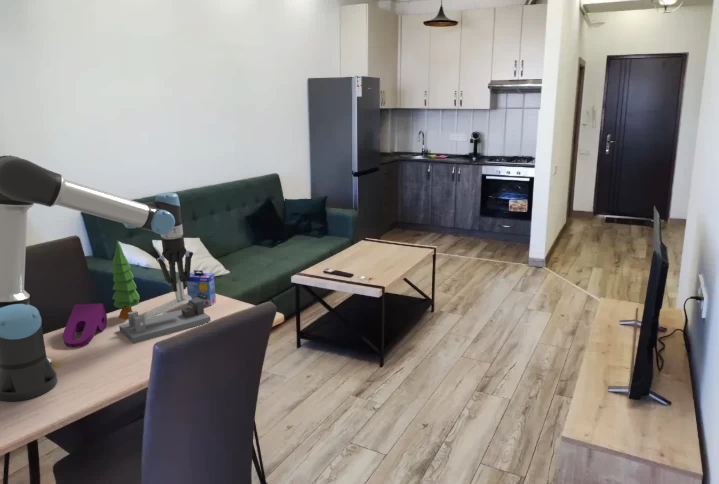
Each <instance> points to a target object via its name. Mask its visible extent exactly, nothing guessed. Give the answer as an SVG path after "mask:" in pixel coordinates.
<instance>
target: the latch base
mask: <svg viewBox="0 0 719 484" xmlns="http://www.w3.org/2000/svg"><path fill="white" fill-rule="evenodd" d="M189 302H191V303H192V305H191V307H190V306H188V307H187V306H186V307H182V308H181V309H179V310H174V311H170V312H166V313H161V314H158V315H156V316H154V317H152V318H150V319H148V320H145V317H144V316H141V317H137V318H134V321H133V320H132V318H133V317H134V316H139V311H138V310H135V311H133V310H132V311H133V312H129V313H128V319H127V320H128V322H127V323H124V324H123V323H122V324H120V325H119V326H118V328H119V332H121V333H122V334H123V335H124V336H125V337H126V338H127V339H128V340H129V341H130V342H131V343H132V344H136V343H140V342H143V341H147V340H150V339H154V338H157V337H161V336H165V335H169V334H172V333H176V332H179V331H182V330H187V329H189V328H193V327H197V326H200V325H205V324H208V323H210V322H209V321H212V320H211V316H210V315H208V313H207V314H206V313H205V309H204V308H205V307H204V306H203V301H202V300H201V299H199V298H193V299H191V300H189ZM207 322H208V323H207ZM204 323H205V324H204Z"/></svg>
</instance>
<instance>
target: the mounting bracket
mask: <svg viewBox="0 0 719 484" xmlns="http://www.w3.org/2000/svg"><path fill="white" fill-rule="evenodd" d="M107 323H108V316H107V311H106V309H105V307H104V304H103V303H81V304H80V303H79V304H78V303H77V304H74V305H73V307H72V310H71V312H70V315H69V318H68V321H67V322H66V325H65V328H64V329H63V332H62V334H61V335H62V336H61V337H62V341H63V343H64V345H65V346H66V347H68V348H82V347H84V346H86V345H88V344H89V343H90V342H91V341H93V339H94V337H95V334H96V332H104V330H106V329H107ZM76 333H81V336H80V337H79V338H78V339H75V336H76Z"/></svg>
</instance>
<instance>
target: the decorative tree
mask: <svg viewBox="0 0 719 484" xmlns="http://www.w3.org/2000/svg"><path fill="white" fill-rule="evenodd" d="M115 246H116V248H115V251H114V256H113V259H112V261H111V263H112V269H111V274H113V278H112V282H114V283H113V285H112V289H111V290H112V291H114V293H113V294H112V298H111V299H112V300H114V302H113V307H115V308H117V309H121V310H120V312H119V315H118V319H121V320H124V321H125V320H129V319H128V313H129V312H133V308H132V307H134V306H138V305H139V304H140V294H139V293H138V291H137V290H136V289H138V287H137V284H136V283H135V281H134V278H135V277H134V276H135V275H134V274H133V272H132V271H131V265H130V264H129V262H128V259H127V257H126V256H125V254H124V251H123V249H122V246H121V244H120V242H119V240H118V239H116V245H115Z"/></svg>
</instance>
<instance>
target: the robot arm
mask: <svg viewBox="0 0 719 484" xmlns="http://www.w3.org/2000/svg"><path fill="white" fill-rule="evenodd" d="M180 203H181V202H180V198H179V195H178V194H177V193H175V192H161V193H158V194H156V196H155V200H154V201H150V202H149V201H148V202H144V203H142V202H140V201H135V200H132V199H128V198H125V197H122V196H119V195H116V194H113V193H109V192H106V191H104V190H103V191H102V190H100V189H97V188H94V187H90V186H87V185H83V184H81V183H77V182H74V181H72V180H69V179H65V178H64V176H63V174H61V173H57V172H54V171H52V170H49V169H47V168H45V167H43V166H41V165H38V164H37V163H34V162H33V161H30V160H28V159H25V158H21V157H18V156H14V155H0V401H3V402H4V401H5V402H19V401H20V402H21V401H24V400H30V399H33V398H36V397H39V396H41V395H44V394H46V393H47V392H49V391H51V390H52V389H54V388H55V387H56V385H57V384H58V375H57V372H56V370H55V368H54V367H53V366H52V363H51V362H50V360H49V359H48V357H47V350H46V345H45V338H44V332H43V326H42V325H43V324H42V322H43V321H42V317H41V314H40V311H39V310H38V308H37V307H35V306H33V305H31V304H30V298H31V297H30V295H31V294H29V293H28V291H26V290H25V276H26V275H25V274H26V253H27V251H26V250H27V249H26V248H27V226H28V225H27V224H28V223H27V222H28V210H29V209H30V208H32V207H33V206H34V204H37V205H41V206H45V207H49V208H51V207H54V206H59V207H62V208H67V209H70V210H73V211H77V212H80V213H84V214H88V215H92V216H96V217H99V218H103V219H107V220H110V221H114V222H118V223H121V224H123V226H124V227H125V228H127V229H136V228H138V229H139V228H140V229H141V230H146V231H149V232H153V233H155V234H158V235H160V237H161V247H162V252H161V255H160V256H159V257H157V258H156V259H155V260H156V262H157V263H158V264H159V266H160V269H161V272H162V275H163V278H164V280H165V282H166V283H168V284H171V291H172V292H173V293H174V294H175V295H174V296H175V299H177V300H181V298H182V299H185V296H184V295H185V290H187V284H186V279H188V278H190V273H191V265H192V264H191V263H192V258H193V255H194V252H193V251H191V250H187V248H186V247H185V246H186V245H185V244H186V243H185V237H184V236H183V235H184V231H183V222H182V214H181V204H180ZM184 257H185V258H184ZM183 259H185V260H184V261H183ZM165 260H166V261H167V262H168V266H169V270H168V268H167V266H166V263H165ZM176 265H177V272H178V273H177V274H178V278H179V280H177V275H176Z"/></svg>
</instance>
